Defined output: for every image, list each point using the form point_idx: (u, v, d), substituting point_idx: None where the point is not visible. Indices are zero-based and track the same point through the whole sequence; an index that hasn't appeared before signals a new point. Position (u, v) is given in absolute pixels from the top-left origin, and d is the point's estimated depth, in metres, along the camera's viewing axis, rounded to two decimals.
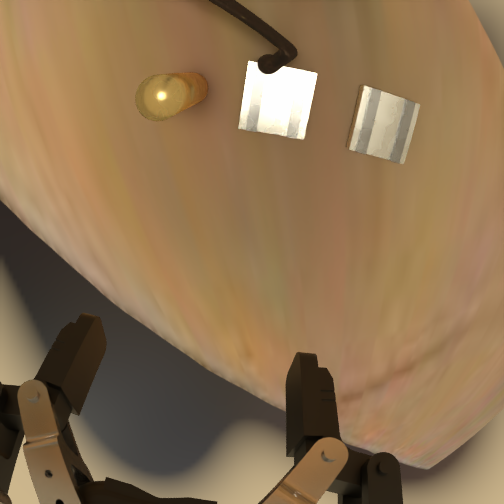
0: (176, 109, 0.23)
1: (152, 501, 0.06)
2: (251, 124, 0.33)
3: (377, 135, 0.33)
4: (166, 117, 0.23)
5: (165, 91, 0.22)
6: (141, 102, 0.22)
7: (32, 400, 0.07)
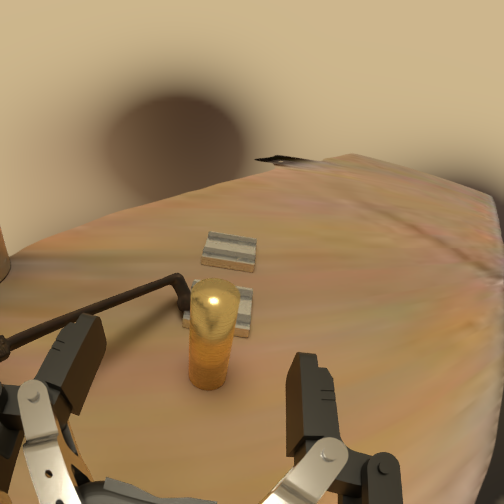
0: (229, 283, 0.26)
1: (152, 501, 0.06)
2: (244, 318, 0.37)
3: (239, 250, 0.49)
4: (237, 289, 0.26)
5: (209, 288, 0.25)
6: (218, 307, 0.24)
7: (32, 400, 0.07)
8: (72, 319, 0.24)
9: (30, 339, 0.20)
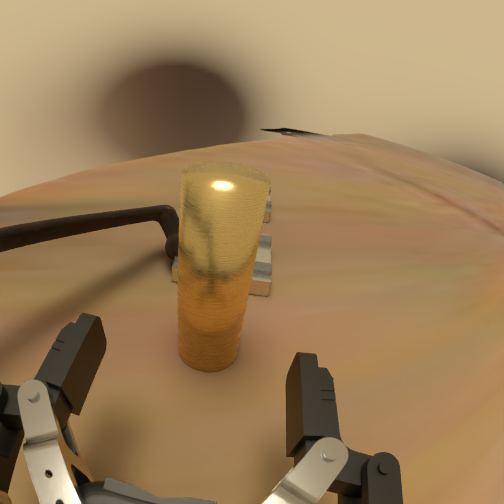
0: (248, 167, 0.15)
1: (152, 501, 0.06)
2: (262, 267, 0.26)
3: None
4: (263, 174, 0.15)
5: (216, 169, 0.14)
6: (233, 187, 0.13)
7: (32, 400, 0.07)
8: None
9: None
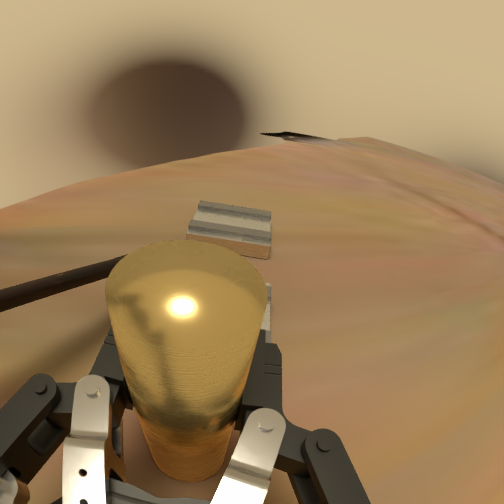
0: (229, 253, 0.09)
1: (152, 501, 0.06)
2: None
3: (245, 226, 0.32)
4: (255, 271, 0.08)
5: (170, 266, 0.08)
6: (193, 329, 0.06)
7: (93, 396, 0.08)
8: None
9: None
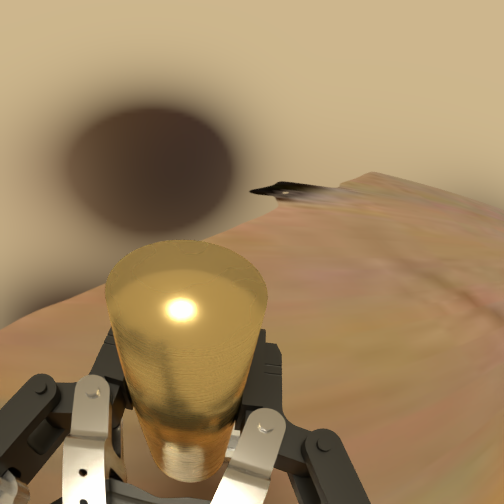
0: (229, 253, 0.09)
1: (152, 501, 0.06)
2: None
3: None
4: (255, 272, 0.08)
5: (169, 265, 0.08)
6: (193, 329, 0.06)
7: (93, 396, 0.08)
8: None
9: None
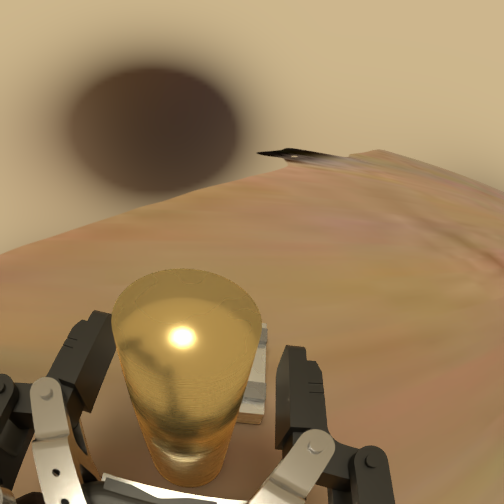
0: (227, 282, 0.09)
1: (152, 501, 0.06)
2: None
3: None
4: (251, 301, 0.09)
5: (170, 296, 0.08)
6: (193, 360, 0.07)
7: (45, 397, 0.07)
8: None
9: None
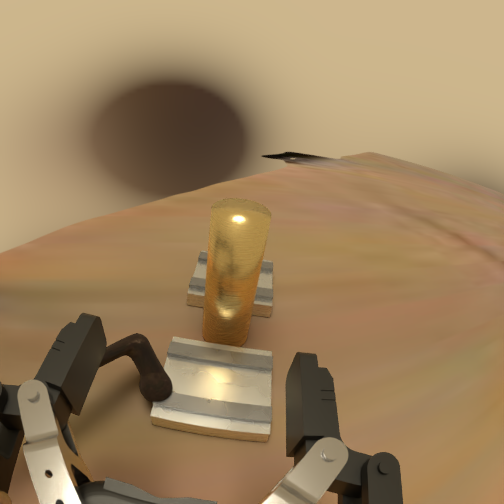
0: (256, 203, 0.22)
1: (152, 501, 0.06)
2: (260, 413, 0.19)
3: None
4: (266, 208, 0.22)
5: (234, 205, 0.21)
6: (246, 221, 0.20)
7: (32, 400, 0.07)
8: None
9: None
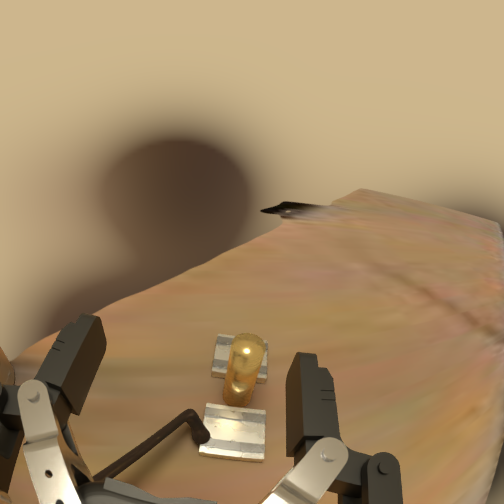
0: (256, 336, 0.36)
1: (152, 501, 0.06)
2: (258, 448, 0.33)
3: None
4: (263, 341, 0.36)
5: (244, 341, 0.35)
6: (251, 356, 0.34)
7: (32, 400, 0.07)
8: None
9: None
